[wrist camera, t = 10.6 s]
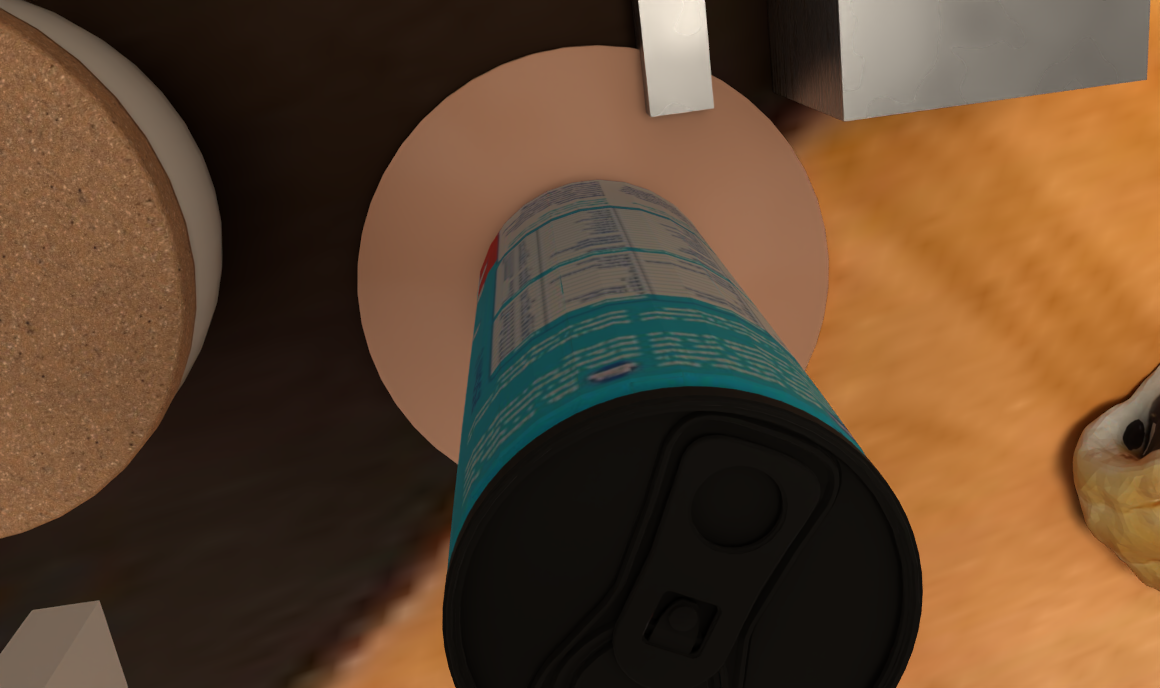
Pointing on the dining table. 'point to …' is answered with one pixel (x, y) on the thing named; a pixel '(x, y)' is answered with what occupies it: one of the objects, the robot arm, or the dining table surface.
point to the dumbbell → (902, 52)
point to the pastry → (1124, 479)
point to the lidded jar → (91, 262)
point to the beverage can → (657, 476)
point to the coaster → (552, 159)
